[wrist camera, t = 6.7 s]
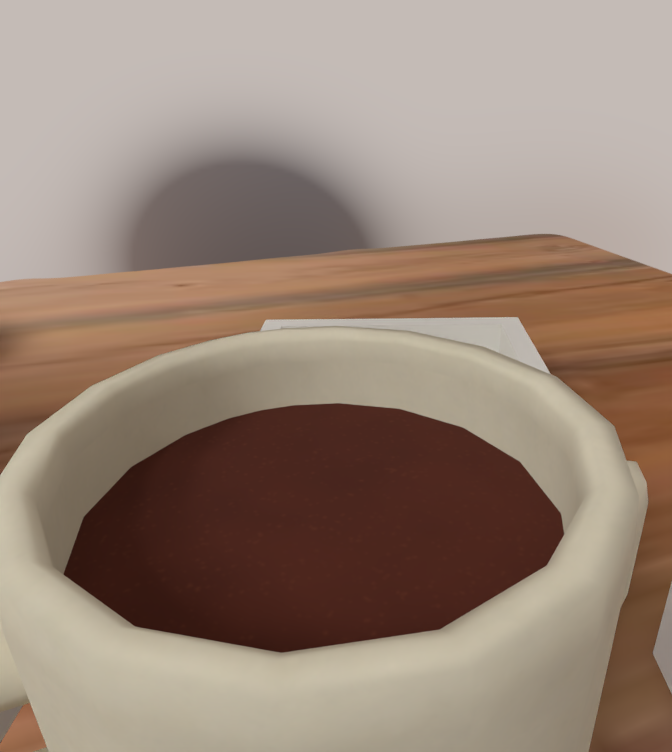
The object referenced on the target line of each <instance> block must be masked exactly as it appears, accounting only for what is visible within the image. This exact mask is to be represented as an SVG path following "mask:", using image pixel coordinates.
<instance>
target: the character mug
mask: <svg viewBox="0 0 672 752" xmlns="http://www.w3.org/2000/svg"><path fill="white" fill-rule="evenodd" d="M647 507H648V493H647V483H646V480H645V478H644V476H643V474H642V472H641V470H640V468H639V466H638V464H637V462H635V461H626V458H625V455H624V452H623V450H622V447H621V444H620V441H619V438H618V435H617V433H616V430H615V427H614V425H612V424H611V423H610V422H609V421H608V420H607V419H605V418H604V417H603V416H602V415H601V414H600V413H599V412H597V411H596V410H595V409H594V408H593V407H592V406H590V405H589V404H588V403H587V402H586V401H585V400H583V399H582V398H581V397H580V396H579V395H578V394H576V393H575V392H574V391H573V390H572V389H571V388H569V387H568V386H567V385H566V384H565V383H564V382H562V381H561V380H560V379H559V378H558V377H556V376H554V375H551V374H549V373H546V372H544V371H542V370H539V369H537V368H534V367H532V366H529V365H527V364H525V363H522V362H520V361H517V360H515V359H513V358H510V357H508V356H505V355H503V354H500V353H498V352H496V351H493V350H491V349H488V348H486V347H483V346H478V345H474V344H469V343H464V342H459V341H455V340H450V339H445V338H441V337H436V336H431V335H427V334H422V333H417V332H412V331H406V330H391V329H376V328H361V327H347V326H323V327H301V328H283V329H274V330H266V331H258V332H249V333H243V334H239V335H234V336H229V337H224V338H219V339H214V340H210V341H206V342H203V343H199V344H196V345H192V346H189V347H185V348H182V349H179V350H175V351H172V352H168V353H165V354H161V355H158V356H156V357H154V358H152V359H149V360H147V361H145V362H143V363H141V364H138V365H136V366H134V367H132V368H130V369H127V370H125V371H123V372H121V373H119V374H116V375H114V376H112V377H110V378H108V379H105V380H103V381H101V382H99V383H97V384H94V385H92V386H91V387H89V388H88V389H87V390H85V391H84V392H83V393H81V394H80V395H79V396H77V397H76V398H75V399H73V400H72V401H71V402H69V403H68V404H67V405H65V406H64V407H63V408H61V409H60V410H59V411H57V412H56V413H55V414H53V415H52V416H51V417H49V418H48V419H47V420H45V421H44V422H43V423H41V424H40V425H39V426H37V427H36V428H35V429H33V430H32V431H31V432H29V433H28V434H27V435H26V437H25V438H24V440H23V441H22V443H21V444H20V446H19V447H18V449H17V450H16V452H15V453H14V455H13V456H12V458H11V459H10V461H9V463H8V464H7V466H6V467H5V469H4V470H3V472H2V473H1V475H0V712H2V711H5V710H9V709H12V708H15V707H18V706H21V705H25V704H28V703H30V704H31V707H32V709H33V712H34V714H35V717H36V720H37V722H38V725H39V727H40V730H41V733H42V735H43V738H44V740H45V743H46V746H47V747H46V748H43V749H40V750H37V751H34V752H589V747H590V743H591V739H592V734H593V730H594V725H595V721H596V716H597V712H598V707H599V703H600V698H601V694H602V689H603V685H604V680H605V676H606V671H607V667H608V662H609V658H610V653H611V649H612V644H613V640H614V635H615V631H616V627H617V622H618V618H619V613H620V609H621V606H622V604H623V602H624V600H625V598H626V596H627V594H628V590H629V586H630V582H631V577H632V573H633V568H634V564H635V560H636V555H637V551H638V547H639V542H640V538H641V533H642V529H643V524H644V520H645V515H646V511H647Z"/></svg>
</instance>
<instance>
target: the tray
mask: <svg viewBox="0 0 672 752" xmlns="http://www.w3.org/2000/svg"><path fill="white" fill-rule="evenodd" d="M323 326H347V327H361V328H376V329H391V330H406V331H412V332H417V333H422V334H427V335H431V336H436V337H441V338H445V339H450V340H455V341H459V342H464V343H469V344H474V345H478V346H483V347H486V348H488V349H491V350H493V351H496V352H498V353H500V354H503V355H505V356H508V357H510V358H513V359H515V360H517V361H520V362H522V363H525V364H527V365H529V366H532V367H534V368H537V369H539V370H542V371H544V372H546V373H549V374H550V372H549V370H548V369H547V367H546V365H545V363H544V362H543V360H542V358H541V356H540V355H539V353H538V351H537V350H536V348H535V346H534V344H533V343H532V341H531V339H530V338H529V336H528V334H527V332H526V331H525V329H524V327H523V326H522V324H521V322H520V320H519V319H518V317H496V318H396V319H297V320H266V321H265V323H264V325H263V326H262V328H261V330H260V331H266V330H274V329H283V328H301V327H323Z"/></svg>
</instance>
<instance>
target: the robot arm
mask: <svg viewBox="0 0 672 752" xmlns="http://www.w3.org/2000/svg"><path fill="white" fill-rule="evenodd" d="M653 655H654V658H655V660H656V662H657V664H658V666H659V668H660V670H661V672H662V674H663V677H664V679H665V681H666V683H667V685H668V687H669V689H670V691H671V693H672V583H671V586H670V590H669V594H668V598H667V601H666V605H665V609H664V613H663V616H662V620H661V624H660V628H659V631H658V635H657V639H656V643H655V646H654V650H653ZM22 706H23V705H21V706H18V707H15V708H12V709H9V710H5V711H2V712H0V743H1V741H2V739H3V738H4V736H5V734H6V733H7V731H8V729H9V728H10V726H11V724H12V723H13V721H14V719H15V718H16V716H17V714H18V713H19V711H20V709H21V708H22Z"/></svg>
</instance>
